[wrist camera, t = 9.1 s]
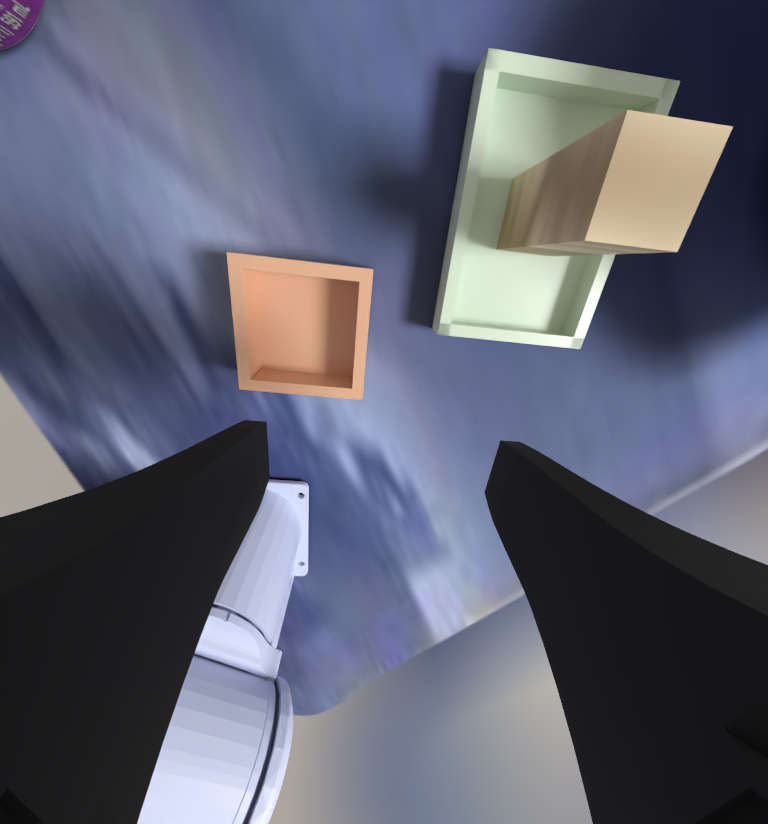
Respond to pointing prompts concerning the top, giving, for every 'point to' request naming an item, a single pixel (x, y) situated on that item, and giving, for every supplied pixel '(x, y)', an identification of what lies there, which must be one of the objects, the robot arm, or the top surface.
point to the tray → (489, 189)
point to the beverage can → (17, 20)
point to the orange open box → (300, 325)
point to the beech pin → (615, 189)
